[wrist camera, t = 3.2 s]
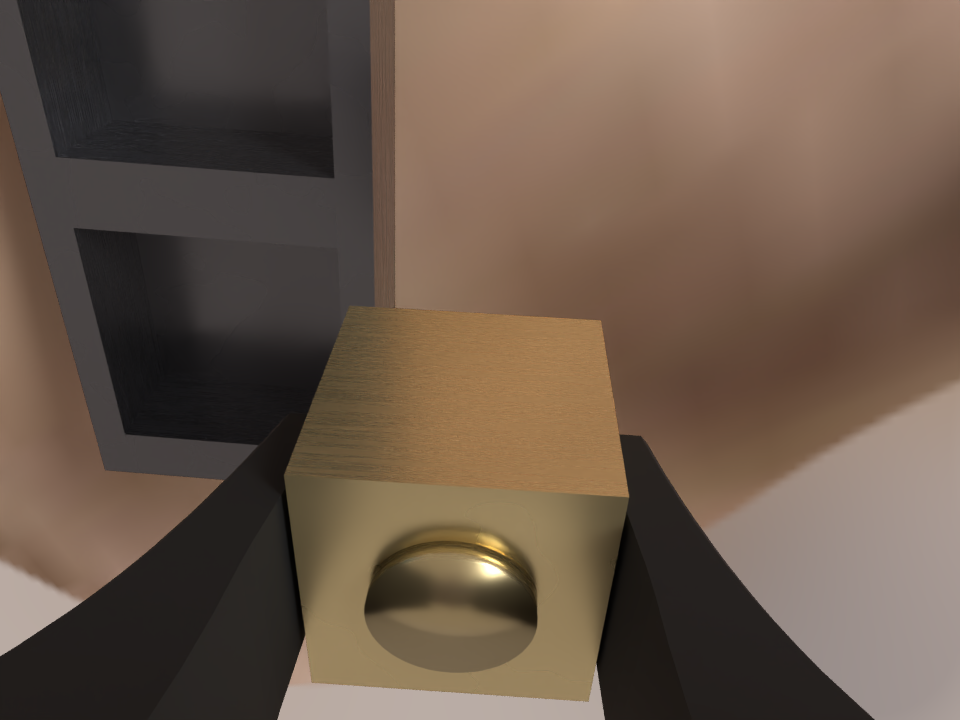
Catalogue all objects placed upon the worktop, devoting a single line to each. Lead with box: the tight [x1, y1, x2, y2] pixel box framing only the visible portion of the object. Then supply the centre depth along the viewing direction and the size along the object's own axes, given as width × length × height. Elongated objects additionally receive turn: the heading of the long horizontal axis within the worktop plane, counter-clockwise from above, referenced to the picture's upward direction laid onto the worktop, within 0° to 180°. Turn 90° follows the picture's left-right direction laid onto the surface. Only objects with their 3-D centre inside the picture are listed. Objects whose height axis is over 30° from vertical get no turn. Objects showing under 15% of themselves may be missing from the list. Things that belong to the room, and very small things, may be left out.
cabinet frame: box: [0, 0, 395, 480], centre depth 15 cm, size 7×22×3 cm, turn 176°
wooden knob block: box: [284, 306, 629, 701], centre depth 12 cm, size 4×4×4 cm
